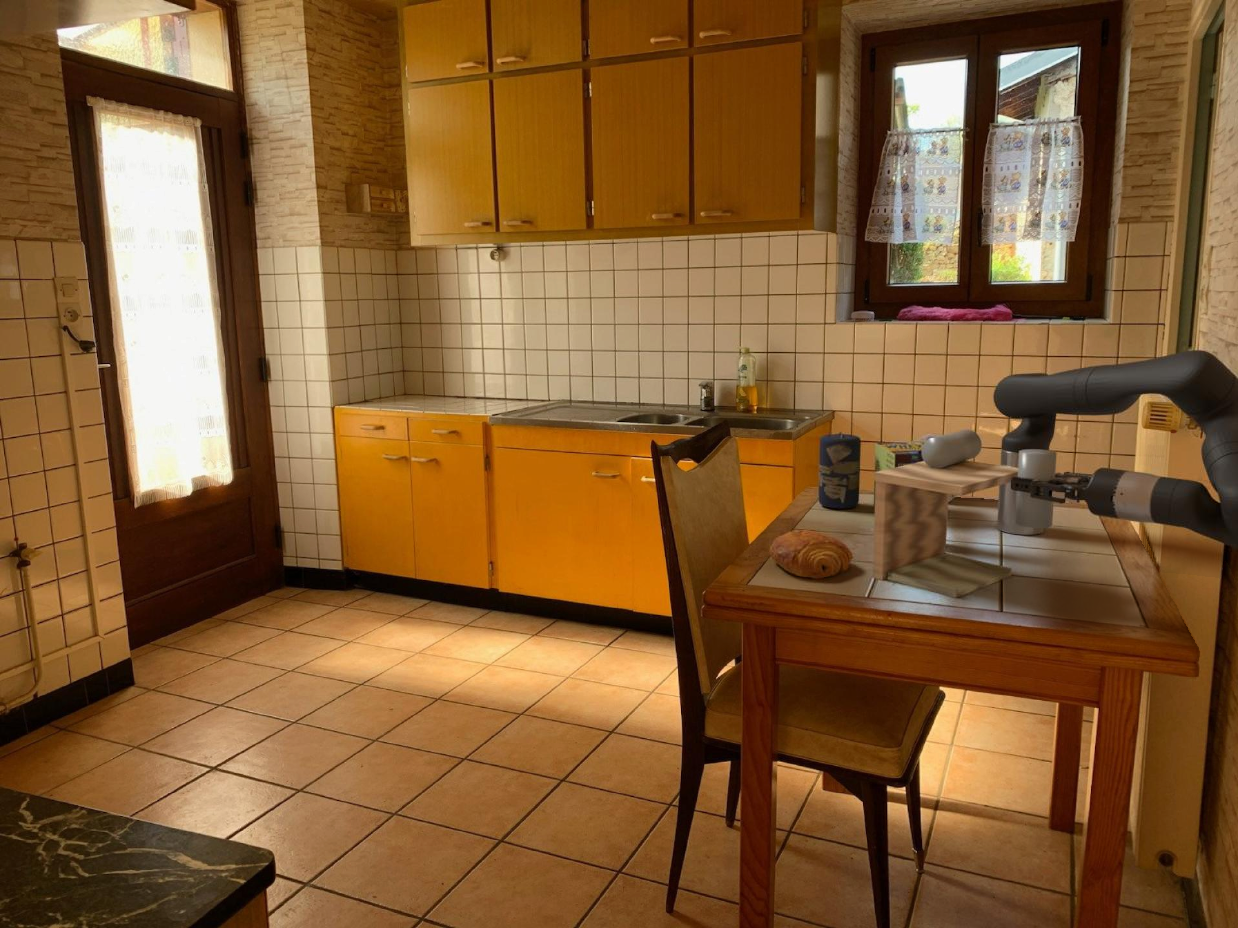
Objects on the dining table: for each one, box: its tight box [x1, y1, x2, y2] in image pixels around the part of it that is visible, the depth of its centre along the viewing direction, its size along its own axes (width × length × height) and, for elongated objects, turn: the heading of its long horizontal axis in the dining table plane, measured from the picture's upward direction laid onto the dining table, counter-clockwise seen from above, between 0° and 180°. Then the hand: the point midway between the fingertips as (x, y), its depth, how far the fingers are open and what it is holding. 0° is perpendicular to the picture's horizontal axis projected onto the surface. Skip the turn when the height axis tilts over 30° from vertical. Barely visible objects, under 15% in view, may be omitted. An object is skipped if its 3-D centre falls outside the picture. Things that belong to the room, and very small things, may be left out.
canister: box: [817, 431, 862, 509], centre depth 222 cm, size 10×10×18 cm
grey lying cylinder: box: [922, 429, 983, 469], centre depth 172 cm, size 6×6×12 cm
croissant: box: [769, 529, 854, 579], centre depth 176 cm, size 14×16×8 cm
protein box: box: [873, 442, 923, 508], centre depth 214 cm, size 10×15×16 cm
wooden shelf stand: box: [872, 460, 1018, 598], centre depth 168 cm, size 21×17×20 cm
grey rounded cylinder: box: [1015, 449, 1057, 529], centre depth 154 cm, size 6×6×12 cm
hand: (1021, 480), depth 156 cm, fingers closed on grey rounded cylinder, 5 cm apart
